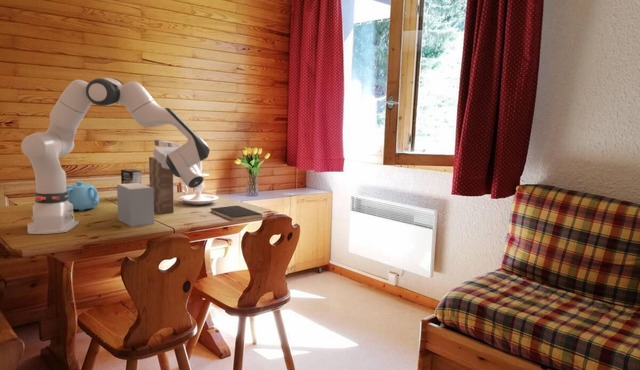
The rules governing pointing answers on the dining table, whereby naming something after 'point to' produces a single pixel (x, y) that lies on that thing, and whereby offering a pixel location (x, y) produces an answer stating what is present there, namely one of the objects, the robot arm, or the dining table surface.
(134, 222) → the paper box
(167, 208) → the walnut stand
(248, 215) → the hardcover book
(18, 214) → the dining table surface
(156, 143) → the marker
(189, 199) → the candlestick
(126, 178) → the coffee box
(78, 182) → the decorative pot
